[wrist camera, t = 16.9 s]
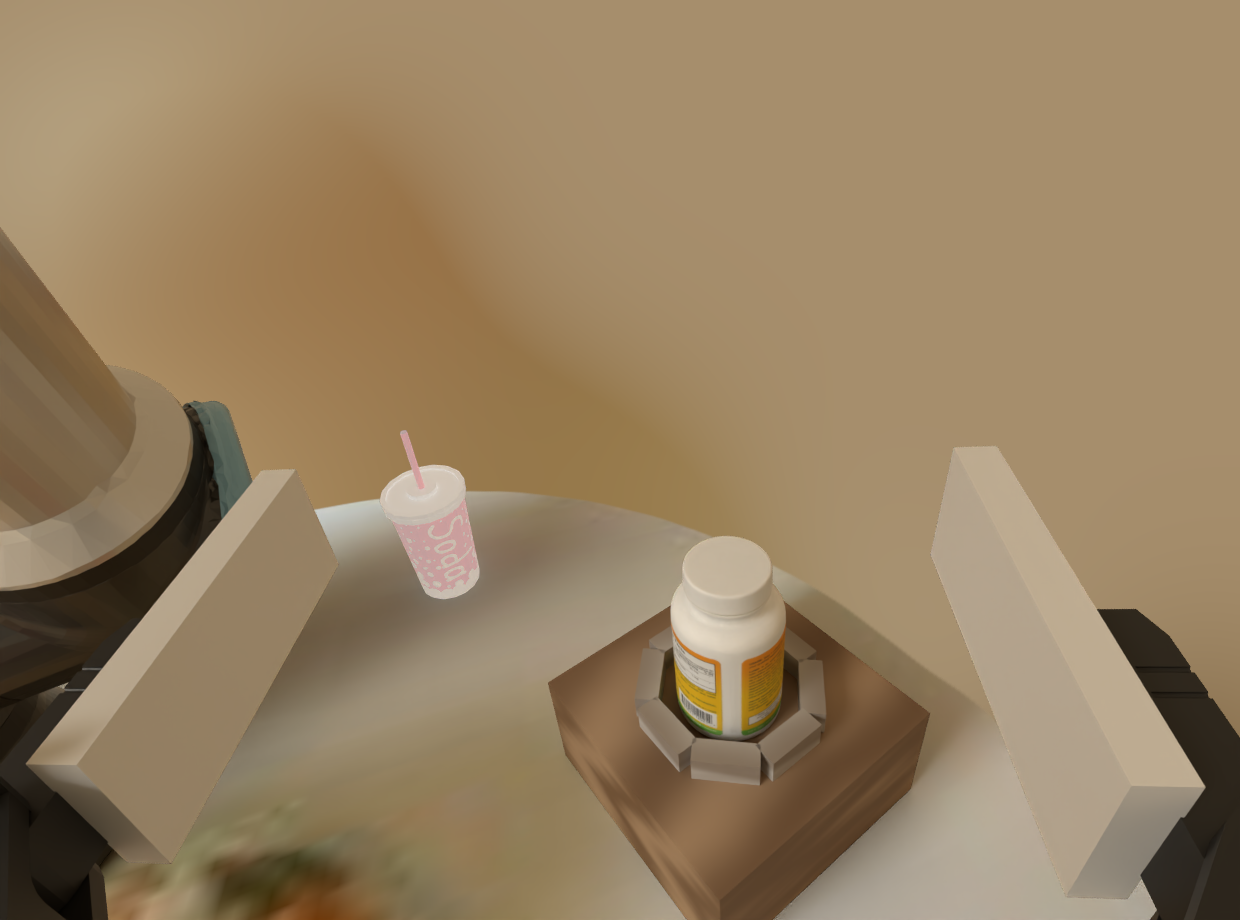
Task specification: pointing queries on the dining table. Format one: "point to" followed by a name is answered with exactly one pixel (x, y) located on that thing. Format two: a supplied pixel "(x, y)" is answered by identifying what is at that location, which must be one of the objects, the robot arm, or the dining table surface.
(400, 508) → the beverage cup
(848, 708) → the carrier block
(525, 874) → the dining table surface
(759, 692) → the supplement bottle
